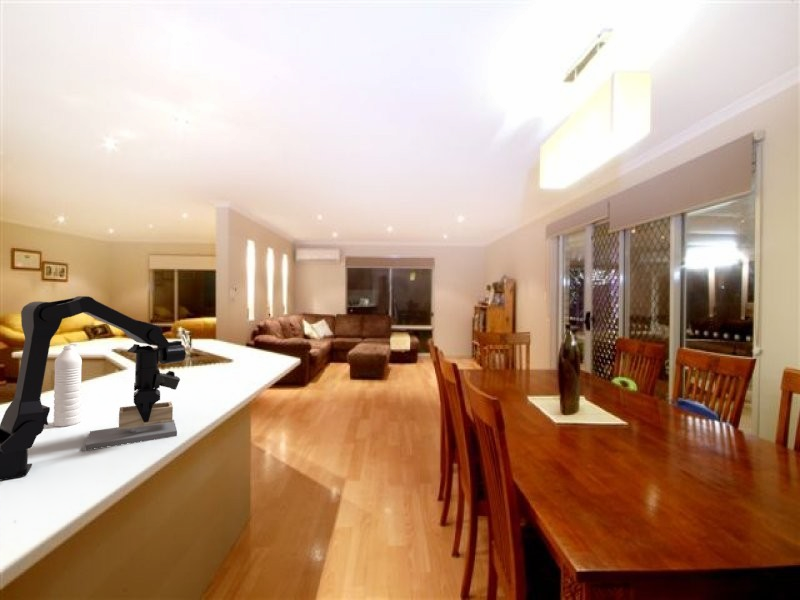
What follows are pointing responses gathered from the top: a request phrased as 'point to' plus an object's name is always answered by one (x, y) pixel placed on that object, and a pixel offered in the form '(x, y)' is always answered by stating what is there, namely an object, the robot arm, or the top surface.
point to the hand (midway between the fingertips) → (145, 418)
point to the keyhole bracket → (133, 418)
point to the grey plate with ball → (129, 435)
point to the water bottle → (67, 387)
